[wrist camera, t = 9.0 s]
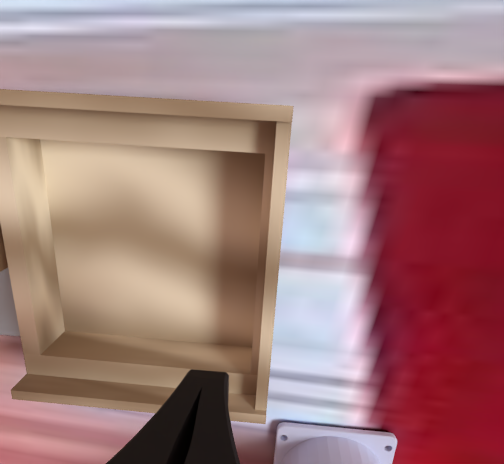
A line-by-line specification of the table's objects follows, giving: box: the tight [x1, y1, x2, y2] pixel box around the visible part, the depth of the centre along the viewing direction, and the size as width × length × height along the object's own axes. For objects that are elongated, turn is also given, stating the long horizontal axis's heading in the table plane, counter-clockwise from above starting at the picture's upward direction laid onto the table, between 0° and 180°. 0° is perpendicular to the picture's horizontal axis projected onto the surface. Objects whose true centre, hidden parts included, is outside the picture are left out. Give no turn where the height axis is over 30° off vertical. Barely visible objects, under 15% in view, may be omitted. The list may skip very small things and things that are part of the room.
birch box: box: [0, 89, 293, 424], centre depth 18 cm, size 16×14×4 cm
